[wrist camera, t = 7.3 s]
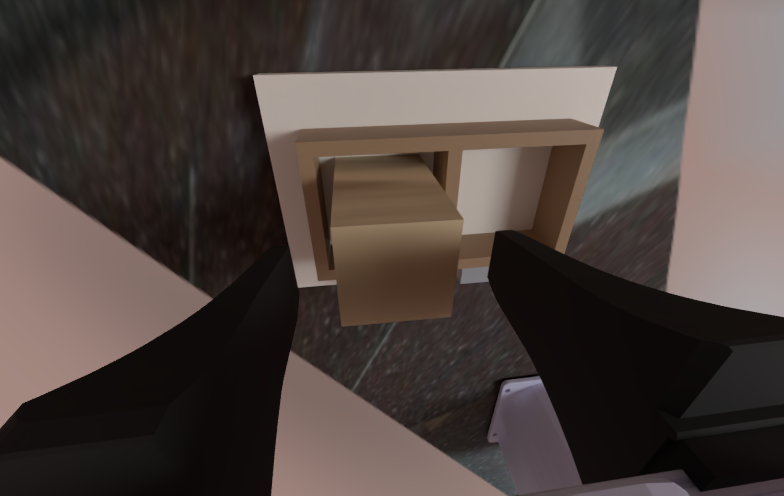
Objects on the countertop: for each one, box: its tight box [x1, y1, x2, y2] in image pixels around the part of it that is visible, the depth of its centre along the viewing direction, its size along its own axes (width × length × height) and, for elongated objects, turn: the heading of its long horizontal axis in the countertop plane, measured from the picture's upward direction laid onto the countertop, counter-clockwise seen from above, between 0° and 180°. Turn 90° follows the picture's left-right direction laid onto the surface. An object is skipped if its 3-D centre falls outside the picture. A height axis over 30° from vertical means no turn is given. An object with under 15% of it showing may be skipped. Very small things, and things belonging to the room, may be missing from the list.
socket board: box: [253, 66, 617, 288], centre depth 16 cm, size 11×16×3 cm
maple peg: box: [330, 154, 464, 327], centre depth 14 cm, size 4×4×7 cm
